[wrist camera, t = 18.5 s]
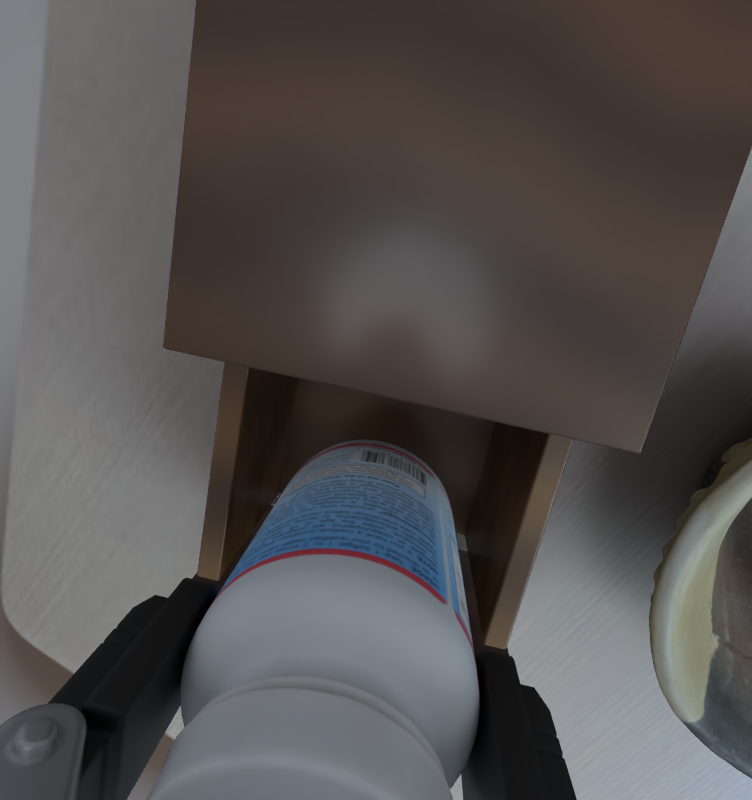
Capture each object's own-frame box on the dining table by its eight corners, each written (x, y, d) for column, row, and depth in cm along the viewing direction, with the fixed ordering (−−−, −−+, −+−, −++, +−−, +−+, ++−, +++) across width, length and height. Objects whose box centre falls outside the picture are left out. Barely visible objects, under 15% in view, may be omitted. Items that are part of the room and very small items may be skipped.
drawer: (455, 657, 27) (472, 834, 18) (236, 604, 27) (150, 751, 19) (568, 275, 22) (665, 268, 13) (295, 218, 22) (216, 176, 14)
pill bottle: (251, 503, 18) (-13, 847, 7) (376, 400, 16) (294, 624, 6) (360, 618, 19) (275, 1092, 8) (488, 528, 17) (607, 946, 6)
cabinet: (544, 380, 24) (641, 455, 13) (272, 321, 24) (161, 348, 14) (662, -16, 20) (936, -356, 9) (332, -76, 20) (238, -463, 10)
